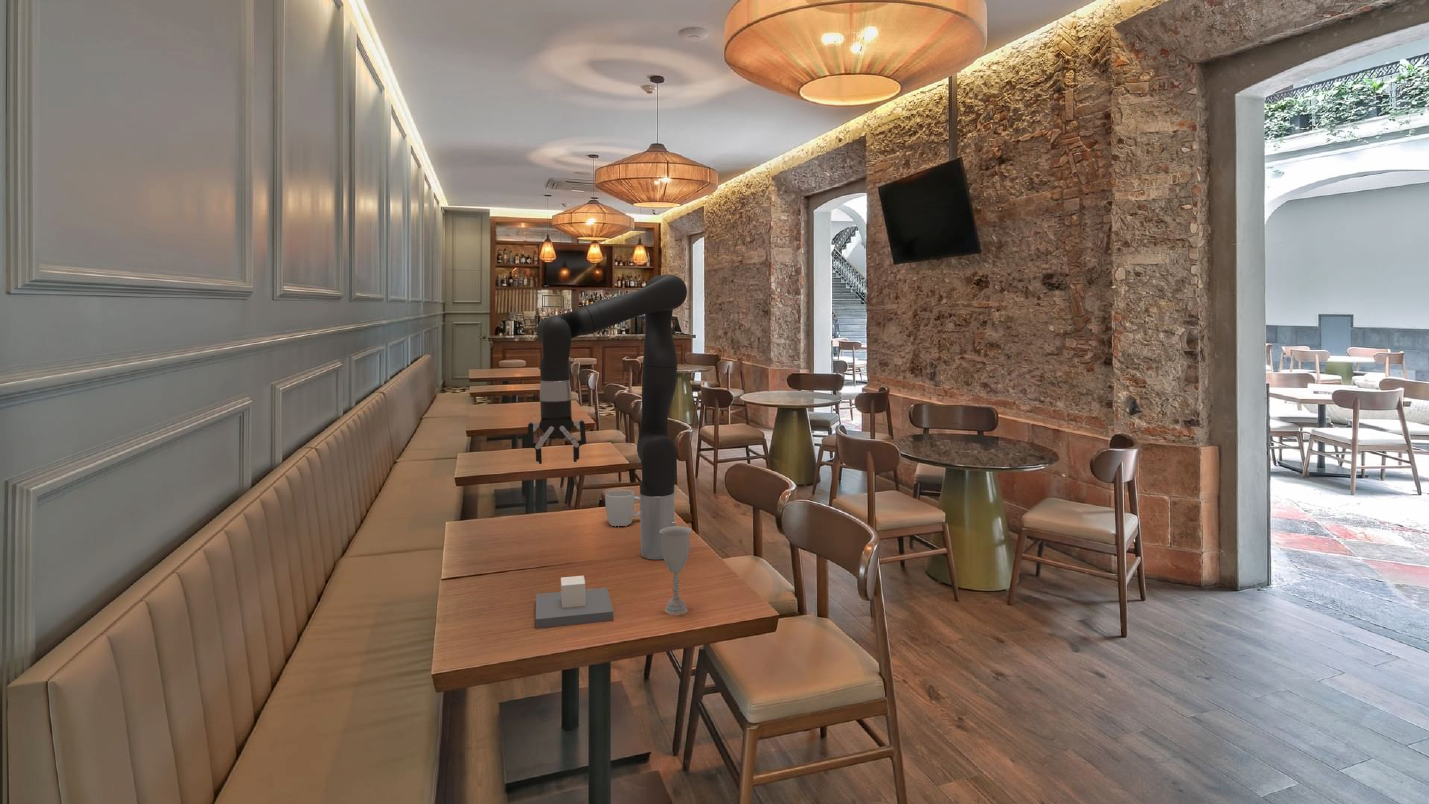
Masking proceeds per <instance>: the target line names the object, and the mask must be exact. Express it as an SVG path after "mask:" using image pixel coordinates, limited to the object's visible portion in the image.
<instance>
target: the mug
mask: <svg viewBox="0 0 1429 804" xmlns="http://www.w3.org/2000/svg"><path fill="white" fill-rule="evenodd" d="M604 497H605V499H604V501H605V503H604V504H605V512H606V518H607V521H608V523H609V525H610V526H611V527H613V526H615V528H620V527H619V526H625V527H627V526H626V525H629V524H630V525H631V524H632V522H633V519H634V518H636V517H640V509H638V511H637V512H635V500H636V501H638V502H639V503H640V496H635V493H634V491H632V490H629V489H615V490H614V489H613V490H609V491H606V493H605V495H604ZM630 525H629V526H630ZM616 526H618V527H616Z"/></svg>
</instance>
